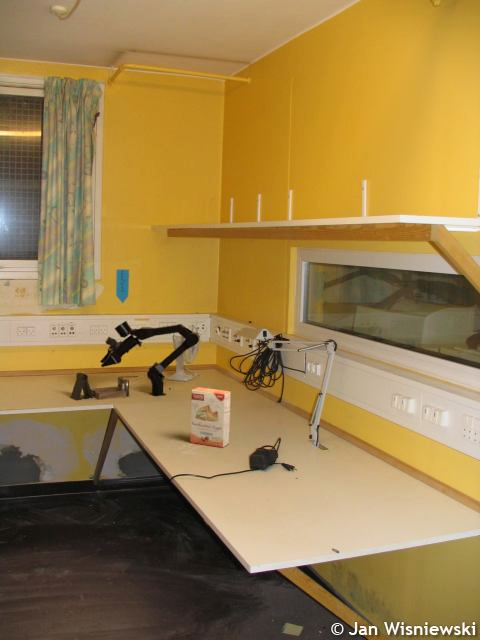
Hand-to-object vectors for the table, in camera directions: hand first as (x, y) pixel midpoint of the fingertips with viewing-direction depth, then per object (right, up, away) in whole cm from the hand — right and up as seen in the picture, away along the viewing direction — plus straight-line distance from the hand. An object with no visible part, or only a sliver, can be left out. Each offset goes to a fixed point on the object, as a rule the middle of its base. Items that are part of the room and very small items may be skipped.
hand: (101, 364), depth 347 cm
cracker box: (+56, -26, -77) cm, 99 cm away
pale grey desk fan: (+35, -10, +51) cm, 63 cm away
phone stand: (-8, -16, -8) cm, 19 cm away
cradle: (+4, -15, -2) cm, 16 cm away
